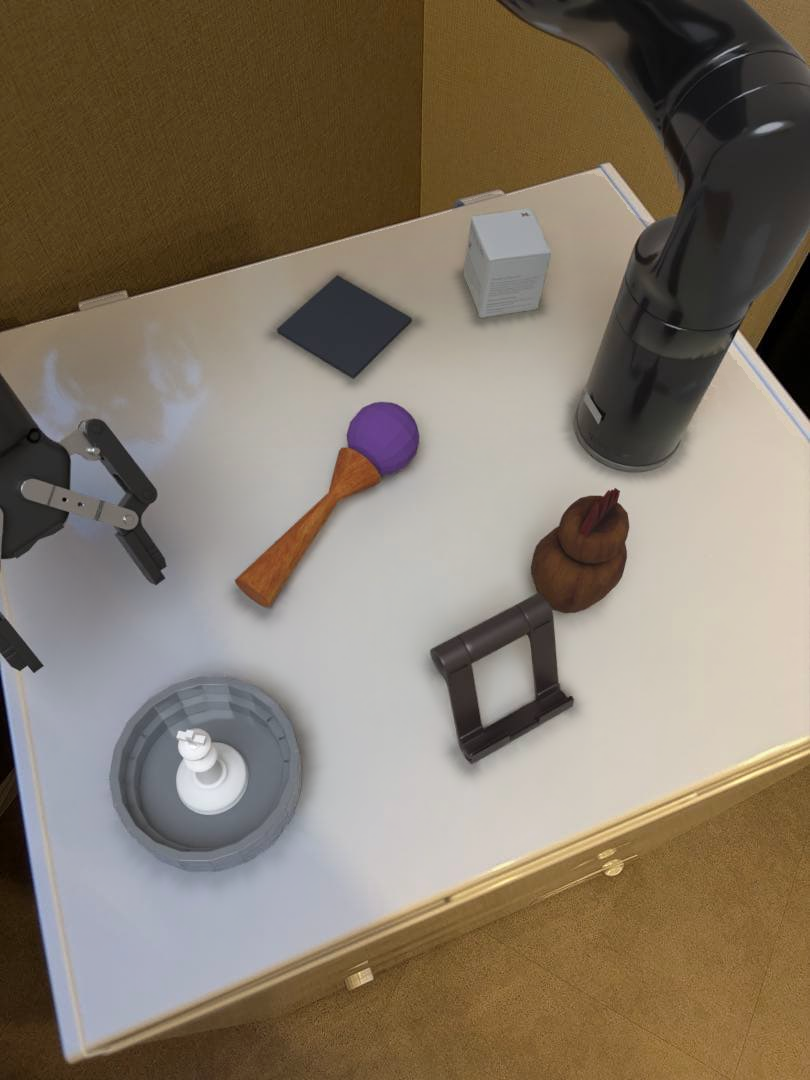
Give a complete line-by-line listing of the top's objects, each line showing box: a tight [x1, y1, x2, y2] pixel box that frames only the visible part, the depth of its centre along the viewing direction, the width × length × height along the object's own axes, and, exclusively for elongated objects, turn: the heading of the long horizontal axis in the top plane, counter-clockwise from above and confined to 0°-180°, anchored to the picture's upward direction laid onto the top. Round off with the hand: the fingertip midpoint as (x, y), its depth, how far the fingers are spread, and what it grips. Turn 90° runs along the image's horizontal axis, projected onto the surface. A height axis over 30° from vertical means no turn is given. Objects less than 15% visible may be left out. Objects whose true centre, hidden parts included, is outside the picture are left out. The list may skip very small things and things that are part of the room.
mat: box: [276, 275, 413, 379], centre depth 83 cm, size 9×9×1 cm
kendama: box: [234, 401, 420, 609], centre depth 71 cm, size 6×6×20 cm
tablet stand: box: [429, 593, 575, 765], centre depth 62 cm, size 9×8×8 cm
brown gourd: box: [530, 487, 630, 614], centre depth 64 cm, size 7×6×15 cm
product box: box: [463, 207, 553, 319], centre depth 84 cm, size 6×6×7 cm
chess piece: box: [176, 728, 249, 815], centre depth 57 cm, size 5×5×10 cm
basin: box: [108, 676, 303, 872], centre depth 60 cm, size 12×12×4 cm
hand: (99, 622), depth 54 cm, fingers open, 8 cm apart
